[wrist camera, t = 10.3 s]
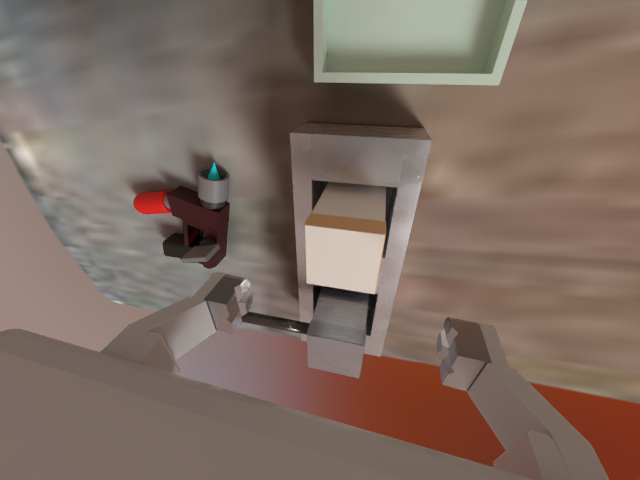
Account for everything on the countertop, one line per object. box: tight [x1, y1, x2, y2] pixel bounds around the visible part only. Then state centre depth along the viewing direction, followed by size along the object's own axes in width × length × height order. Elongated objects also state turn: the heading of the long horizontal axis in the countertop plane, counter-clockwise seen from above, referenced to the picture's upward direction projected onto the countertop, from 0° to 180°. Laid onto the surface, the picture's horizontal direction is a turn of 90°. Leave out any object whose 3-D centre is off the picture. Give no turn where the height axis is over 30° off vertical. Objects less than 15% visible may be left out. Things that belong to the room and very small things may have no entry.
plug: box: [305, 182, 386, 294], centre depth 17 cm, size 4×4×8 cm
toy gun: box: [133, 163, 230, 269], centre depth 23 cm, size 10×12×5 cm
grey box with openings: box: [241, 122, 432, 378], centre depth 20 cm, size 14×20×8 cm
